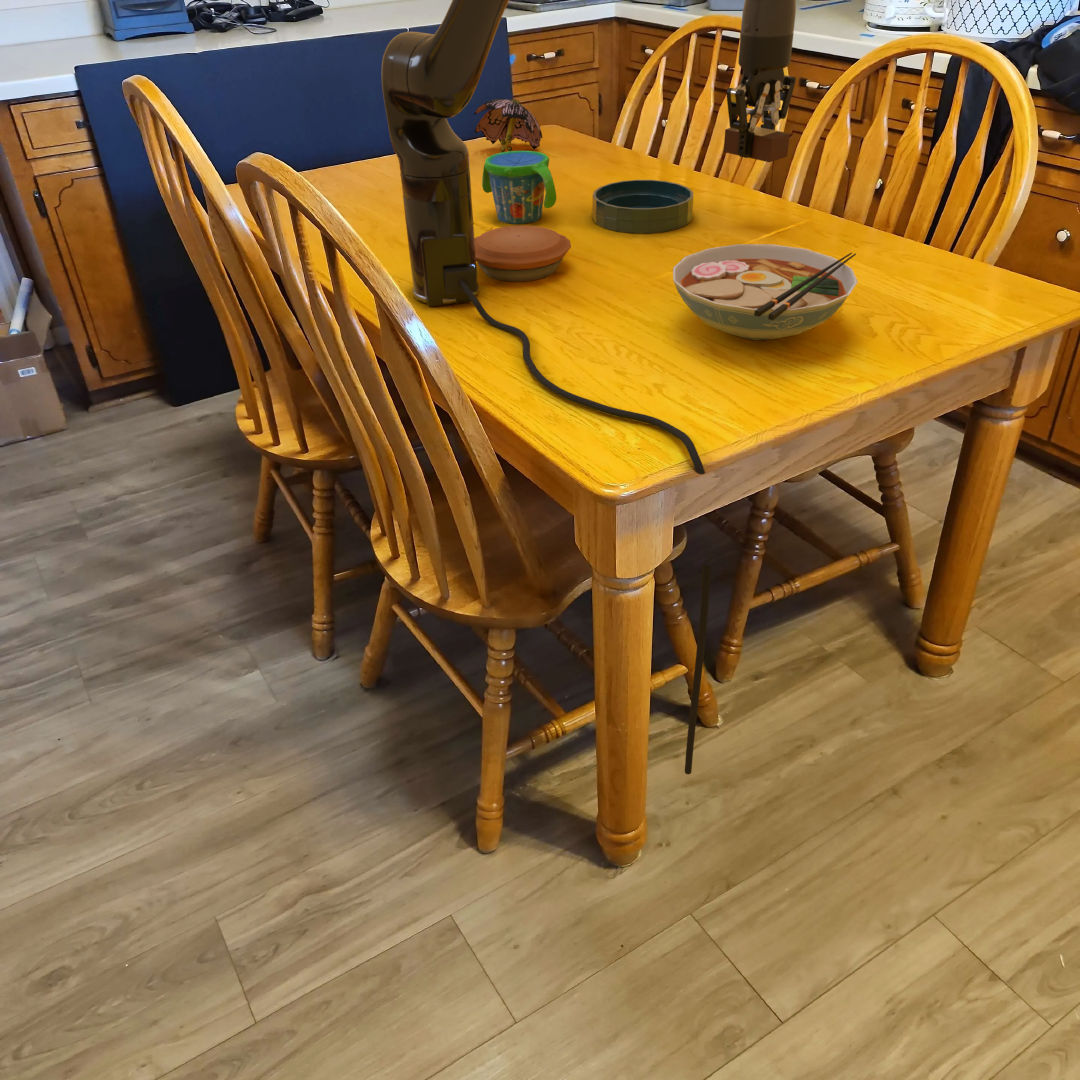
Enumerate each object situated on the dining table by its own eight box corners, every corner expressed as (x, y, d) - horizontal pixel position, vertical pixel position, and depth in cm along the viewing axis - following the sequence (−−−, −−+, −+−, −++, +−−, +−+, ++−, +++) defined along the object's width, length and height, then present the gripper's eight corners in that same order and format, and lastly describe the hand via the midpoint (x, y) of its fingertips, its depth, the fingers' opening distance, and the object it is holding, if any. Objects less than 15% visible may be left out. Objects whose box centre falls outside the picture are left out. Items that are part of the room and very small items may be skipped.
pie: (552, 246, 151) (551, 214, 148) (585, 279, 139) (585, 245, 136) (458, 258, 148) (455, 226, 145) (484, 293, 136) (481, 259, 133)
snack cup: (467, 216, 165) (463, 155, 159) (515, 203, 170) (512, 143, 164) (523, 238, 155) (521, 173, 149) (572, 223, 160) (572, 160, 154)
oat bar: (787, 156, 146) (790, 132, 144) (769, 162, 144) (772, 138, 141) (741, 146, 151) (743, 123, 149) (723, 152, 149) (725, 128, 147)
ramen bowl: (729, 281, 137) (734, 224, 132) (881, 318, 125) (893, 257, 120) (629, 340, 121) (630, 278, 117) (792, 389, 109) (801, 322, 105)
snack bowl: (705, 231, 155) (707, 204, 152) (606, 240, 152) (606, 213, 150) (674, 201, 168) (675, 176, 165) (583, 210, 166) (583, 184, 163)
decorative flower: (560, 99, 194) (501, 86, 185) (559, 159, 196) (500, 149, 187) (517, 110, 205) (459, 98, 196) (516, 167, 207) (459, 158, 198)
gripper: (756, 39, 131) (744, 167, 141) (818, 26, 139) (803, 148, 149) (714, 34, 136) (706, 158, 146) (776, 21, 143) (764, 140, 153)
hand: (755, 153), depth 147 cm, fingers closed on oat bar, 4 cm apart
